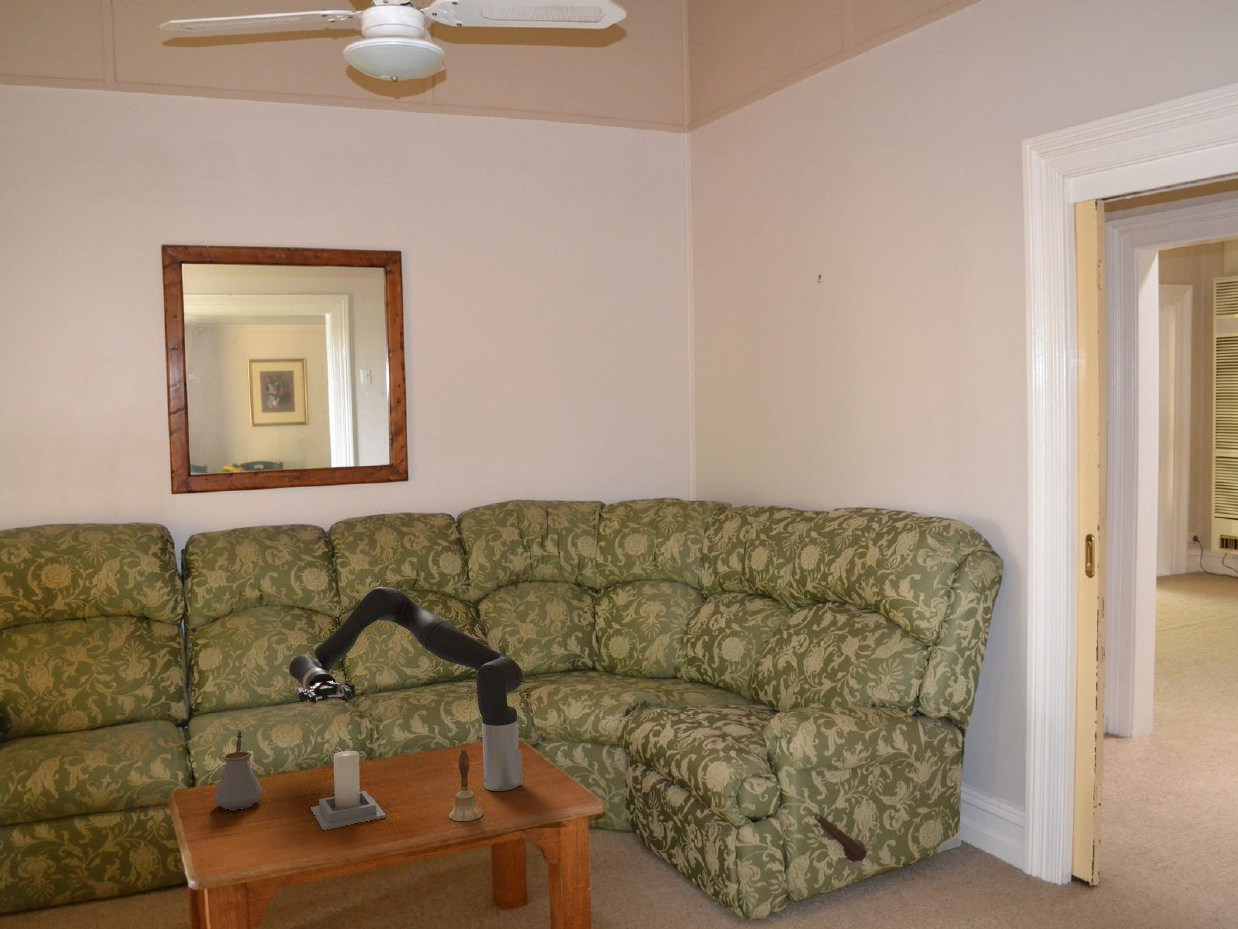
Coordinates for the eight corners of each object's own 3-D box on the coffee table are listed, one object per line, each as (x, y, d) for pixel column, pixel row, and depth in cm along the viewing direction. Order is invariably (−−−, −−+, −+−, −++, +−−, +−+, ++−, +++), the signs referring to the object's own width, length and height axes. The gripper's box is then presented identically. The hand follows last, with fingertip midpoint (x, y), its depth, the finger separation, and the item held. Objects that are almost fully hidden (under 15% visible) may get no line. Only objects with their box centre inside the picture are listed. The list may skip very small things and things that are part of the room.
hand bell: (444, 813, 259) (442, 749, 258) (477, 806, 262) (474, 743, 262) (454, 824, 251) (451, 758, 251) (487, 818, 255) (485, 752, 254)
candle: (357, 804, 264) (356, 749, 263) (362, 812, 258) (361, 755, 258) (333, 808, 261) (331, 752, 261) (337, 816, 256) (336, 759, 255)
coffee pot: (261, 810, 264) (259, 751, 264) (212, 816, 261) (210, 756, 260) (265, 782, 285) (262, 727, 284) (219, 787, 282) (217, 732, 281)
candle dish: (370, 799, 270) (370, 787, 270) (385, 818, 256) (385, 805, 256) (311, 810, 263) (310, 798, 263) (323, 830, 250) (322, 818, 249)
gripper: (291, 673, 282) (302, 686, 268) (345, 666, 289) (358, 679, 274) (292, 701, 282) (303, 715, 268) (346, 693, 289) (359, 707, 274)
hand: (331, 697), depth 271 cm, fingers open, 8 cm apart
